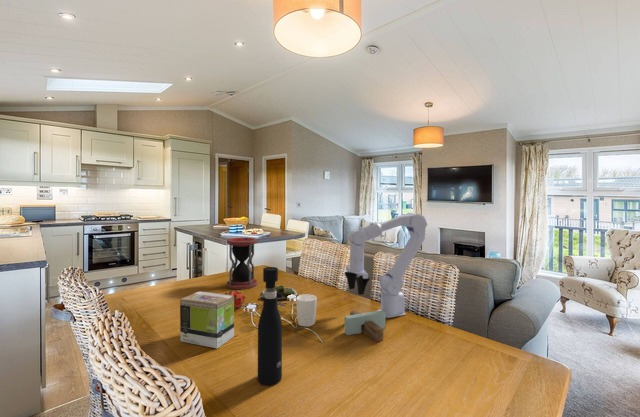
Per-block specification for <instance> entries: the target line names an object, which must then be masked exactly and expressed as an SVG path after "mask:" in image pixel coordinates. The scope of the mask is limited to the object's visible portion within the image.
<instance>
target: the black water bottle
mask: <svg viewBox="0 0 640 417" xmlns="http://www.w3.org/2000/svg"><path fill="white" fill-rule="evenodd" d="M262 271H263V273H262V282H264V283H265V287H264V288H265V289H264V290H265V292H264V298H262V310H261V313H260V315H259V319H258V323H257V324H258V326H257V382H258V383H259V384H260V385H262V386H267V387H271V386H274V385H277V384H279V382H281V381H282V376H283V375H282V374H283V368H282V367H283V364H282V363H283V323H282V322H283V321H282V317H281V313H280V311H279V308H278V301H277V296H276V295H277V294H276V293H277V292H276V289H275V286H276V283H277V282H278V280H279V268H278V267H275V266H267V267H264V268H262Z"/></svg>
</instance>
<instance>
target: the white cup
mask: <svg viewBox="0 0 640 417" xmlns="http://www.w3.org/2000/svg"><path fill="white" fill-rule="evenodd" d="M317 301H318V298H317V296H316V295H313V294H308V293H307V294H306V293H304V294H299V295H297V297H296V316H297V317H296V318H297V324H298V325H299V326H301V327H311V326H313V325H315V323H316V316H317V304H318V302H317Z"/></svg>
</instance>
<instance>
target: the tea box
mask: <svg viewBox="0 0 640 417" xmlns="http://www.w3.org/2000/svg"><path fill="white" fill-rule="evenodd" d="M179 308H180V309H179V320H180V322H179V323H180V324H179V325H180V326H179V330H180V332H179V334H180V335H179V336H180V341H179V342H183V343H187V344H193V345H197V346H202V347H206V348H213V349H218V348H220V347H222V346H223V345H225V344H226V343H227V342H228V341H230V340H231V339H233V338H234V337H235V309H234V295H226V294H225V293H218V292H217V293H216V292H209V291H201V290H199V291H197V292H194V293H192V294H190V295H187V296H185V297H182V298H180V299H179Z"/></svg>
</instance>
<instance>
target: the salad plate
mask: <svg viewBox="0 0 640 417" xmlns="http://www.w3.org/2000/svg"><path fill="white" fill-rule="evenodd" d="M275 289H276V292H277V293H276V294H277V295H276V296H277V302H280V301H281V302H286V301H288V300H287V296H288V295H291V294H296V295H297V296H298V293H297V292H296V290H295V289H294V288H292V287H284V286H283V285H278V284H275ZM265 290H266V289H263V291H262V294H261V295H260V298H262V299H263V298H264V292H265ZM285 300H286V301H285Z"/></svg>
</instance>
